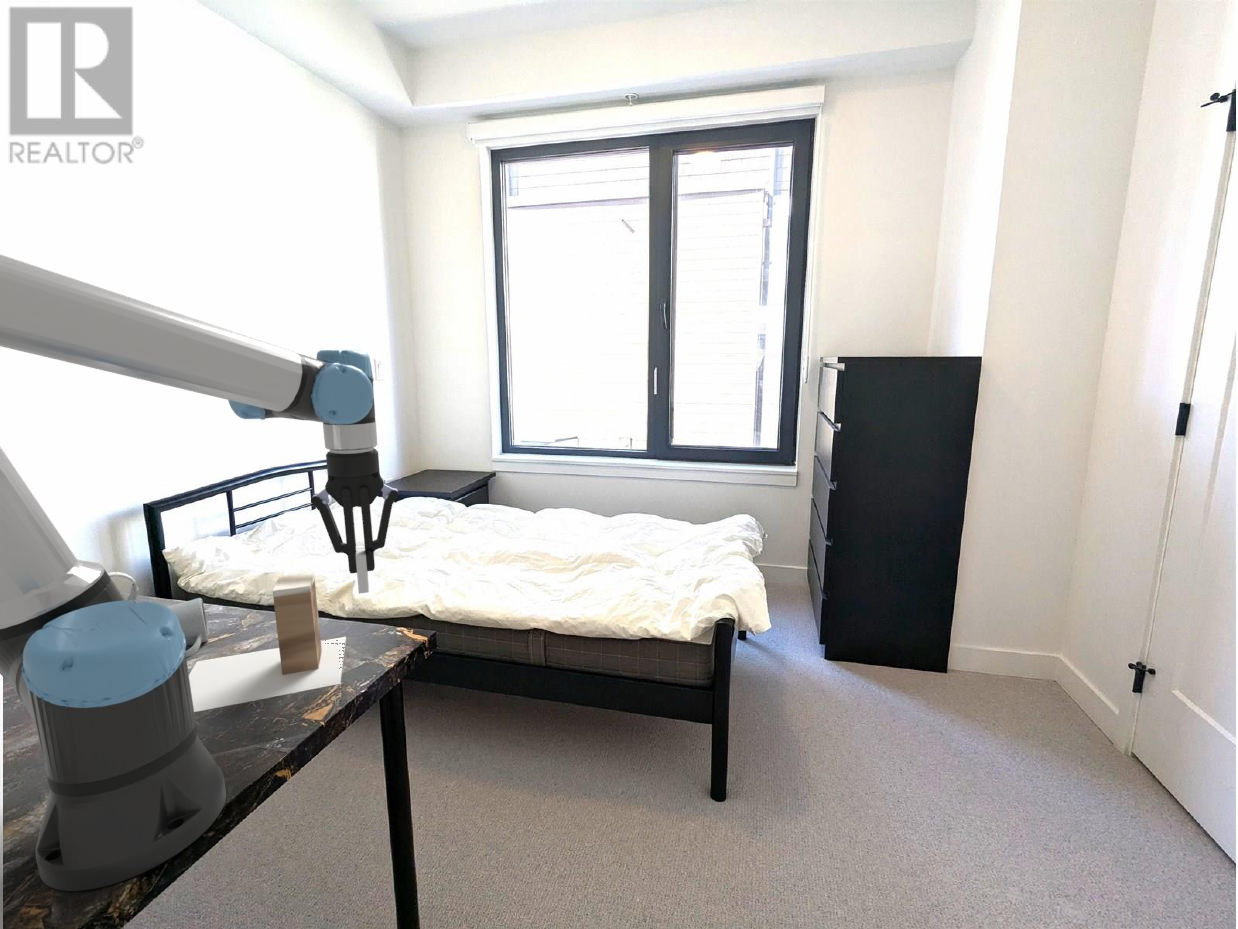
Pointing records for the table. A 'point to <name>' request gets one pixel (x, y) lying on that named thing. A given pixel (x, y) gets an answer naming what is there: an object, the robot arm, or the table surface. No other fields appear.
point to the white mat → (259, 677)
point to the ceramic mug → (192, 623)
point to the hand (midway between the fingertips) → (363, 589)
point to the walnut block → (297, 623)
